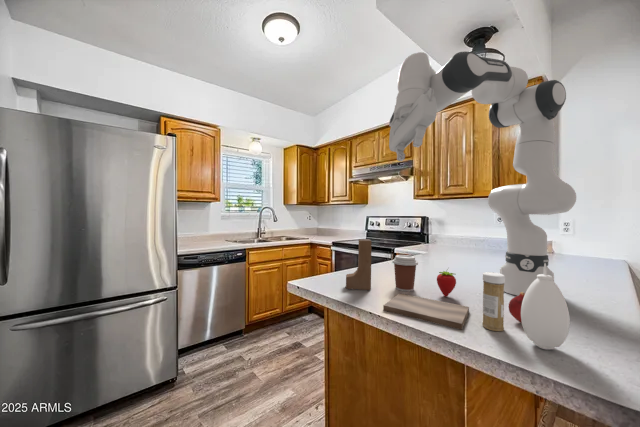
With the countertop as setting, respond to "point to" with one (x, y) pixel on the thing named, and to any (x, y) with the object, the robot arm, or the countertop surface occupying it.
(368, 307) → the countertop surface
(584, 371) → the countertop surface
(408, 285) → the coffee cup
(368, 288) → the wooden block
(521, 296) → the onion
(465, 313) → the walnut board
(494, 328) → the sprinkles bottle
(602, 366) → the countertop surface
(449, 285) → the strawberry
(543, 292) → the sauce bottle
